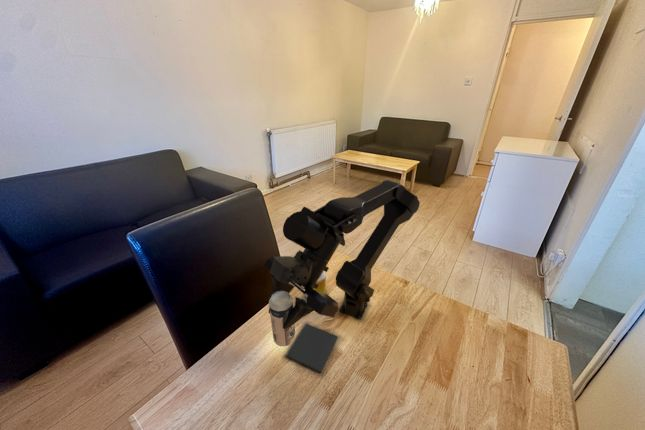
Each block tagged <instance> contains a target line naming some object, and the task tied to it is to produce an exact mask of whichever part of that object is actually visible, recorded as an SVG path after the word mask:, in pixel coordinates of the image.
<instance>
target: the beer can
mask: <svg viewBox="0 0 645 430" xmlns="http://www.w3.org/2000/svg"><path fill="white" fill-rule="evenodd" d="M293 308H294V298H293V296H292V295H291V294H290V293H288V292H285V291H278V292H276V293H274V294H273V293H272V294H271V297H270V298H269V300H268V310H269V309H270V314H269V316H270V323H271V330H272V332H271V333H272V339H273V342H274V344H275V345H276V346H278V347H288V346H290V345H291V344H293V343H294V342H295V341H296V325H295V324H296V323H294V324H293V325H292V326H290V327H289V328H288V329H283V325H284V323H285V321H286V319H287V317H288V316H289V314H290V313H291V311H292V309H293Z"/></svg>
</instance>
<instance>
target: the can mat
mask: <svg viewBox="0 0 645 430" xmlns="http://www.w3.org/2000/svg"><path fill="white" fill-rule="evenodd" d="M338 338H339V337H338V335H336V334H333V333H330V332H328V331H325V330H323V329H320V328H318V327H316V326H314V325H310V324H308V323H306V324H305V325H304V326H303V328H302V330H301V331H300V333H299V335H298V336H297V338H295V340H294V341H293V343H292V346H291V347H290V349H289V350H288V352H287V354H286V355H285V357H286V358H288V359H290V360H292V361H294V362H296V363H299V364H301V365H303V366H305V367H307V368H309V369H311V370H313V371H315V372H317V373H320V374H322V372H323V370H324V367H325V365H326V364H327V361H328V360H329V357H330V355H331V353H332V351H333V349H334V347H335V344H336V342H337V341H338Z"/></svg>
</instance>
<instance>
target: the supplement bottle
mask: <svg viewBox="0 0 645 430" xmlns="http://www.w3.org/2000/svg"><path fill="white" fill-rule="evenodd" d="M326 278H327V277H326V272H325V271H324V270H323V272H322V274H321V275H320V277H319V279H318V280H317V282H316V283H317V284H319V286H318V287H317V289H315V288H313V289H314V290H317V291H320V292H322V293H325V294H326V282H327V281H326V280H327V279H326Z"/></svg>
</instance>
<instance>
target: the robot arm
mask: <svg viewBox="0 0 645 430" xmlns="http://www.w3.org/2000/svg"><path fill="white" fill-rule="evenodd" d="M420 204H421V203H420V201H419V198H418V196H417V195H415V194H414V193H412V192H410V190H408V189H407V188H406V187H405V186H404V185H403V184H402V183H400V182H397V181H393V180H390V179H385V180H383V181H382V182H381V183H379V184H377V185H376V186H373V187H371V188H369V189H368V190H365V191H363V192H361V193H359V194H357V195H355V196H351V197H350V196H348V197H345V196H344V197H338V198H335V199H334V198H333V199H330V200H328V201H327V202H326V203H325V205H323V206H321V207H319V208H317V209H316V210H314V211H313V210H312V209H311V208H308V207H306V206H303V207H302V208H301V209H300V211H295V212H293V213H292V214H290V215H289V216H288V217H286V219H285V220H284V223H283V226H282V234H283V236H284V238H285V239H287V240H288V241H290V242H292V243H294V244H296V245H298V246H299V247H301V248H304V249H303V251H302V250H300V249H299V250H298V251H297V252H296V253H295V254H294V256H291V255H281V256H273V255H272V256H270V257H268V258H267V259H266V261H265V263H264V264H263V267H264V268H265V269H266V270H268V272H269V274H270V278H271V280H272V283H273V288H272V289H273V290H272V291H273V292H272V295H273V294H274V293H276V292H278V291H285V292H288V293H289V294H290V293H291V292H292V291H293V289H294V288H296V289H298V290H299V291H300V292H301V293H302V294H303V296H302V298H301V297H298V296H295V297H294V305H293V307H294V308H293V309H292V311H291V313H290V314H289V316H288V317H287V319H286V321H285V323H284V325H283V329H288V328H289V327H290V326H292V325H293V324H294V323H295V324H296V323H297V322H299V321H300V320H302V319H303V318H304V317H306V316H307V315H309V314H311V313H312V312H315V313H317V314H318V315H320V316H325V317H328V318H335V317H336V315H337V313H338V312H339V313H340V314H343V315H346V316H349V317H352V318H354V319H357V320H359V321H361V320H362V319H363V316H364V314H365V311H366V309H367V307H368V303H370V301H371V298H372V297H373V295H374V293H375V289H374V288H373V287H371V286H370V284H371V282H372V269H373V267H374V265H375V264H376V263H377V261H378V259H379V258H380V256H381V255H382V253H383V251H384V250H385V249H386V247H387V245H388V244H389V242H390V241H391V239H392V237H393V236H394V235H395V232H396V230H397V229H398V228H399V226H400V225H402V224H404V223H407V222H409V221H410V220H411V218H412V217H413V216H414V215H415V213H417V211H419V208H420ZM381 207H383V215H382V217H381V219H380V220H379V222H378V223H377V225H376V227H374V229H373V231H372V232H371V234H370V236H369V237H368V239H367V240H366V242H365V244H364V245H363V247H361V248H362V249H361V250H360V251H359V252H358V254H357V256H356V258H353V260H350V261H349V260H345V261H344V262H343V263H342V266H341V268H340V269H339V270H338V271H337V272H336V276H335V285H336V287H337V288H338V289H340V290H341V291H342V292H344V297H343V302H342V304H341V306H340V308H339V302H337V301H336V300H335V299H334V298H332V297H331V296H330V295H329V294H327V293H326V292H325V293H322V292H320V291H317V290H314V289H313V288H315V289H317V287H318V286H319V284H317V283H316V282H317V280H318V279H319V277H320V275H321V274H322V272H323V271H324V272H325V273H327V272H328V271H329V269H330V268H329V267H328V264H329V262H330V260H331V259H332V257H333V255H335V252H336V250H337V248H338V246H340V245H341V246H342V247H345V246H346V240H345V235H348V234H350V233H352V232H354V231H355V229H357V228H359V227H360V226H361V225H362V224H363V221H364V218H365V217H366V216H367V215H369V214H370V213H373V212H374V211H376V210H378V209H379V208H381ZM268 314H269V315H270V309H269V308H268Z"/></svg>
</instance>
